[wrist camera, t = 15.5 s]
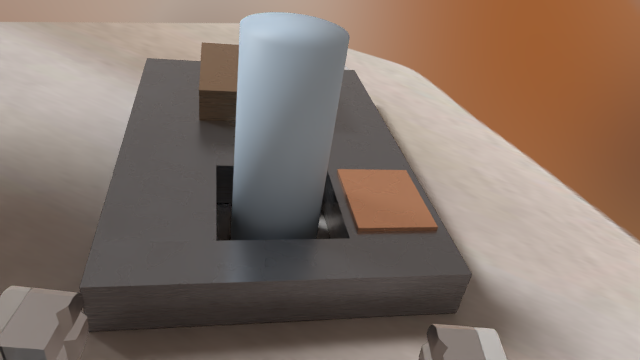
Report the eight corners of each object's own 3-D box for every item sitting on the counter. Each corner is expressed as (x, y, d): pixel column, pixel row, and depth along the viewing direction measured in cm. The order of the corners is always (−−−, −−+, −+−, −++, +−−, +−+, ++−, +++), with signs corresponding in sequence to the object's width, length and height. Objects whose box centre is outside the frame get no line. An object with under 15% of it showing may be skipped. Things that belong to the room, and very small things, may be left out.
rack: (88, 331, 20) (71, 247, 17) (149, 89, 39) (145, 31, 36) (456, 312, 23) (486, 239, 21) (349, 98, 42) (358, 46, 39)
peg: (232, 268, 24) (242, 44, 18) (229, 211, 27) (237, 8, 21) (321, 266, 25) (360, 52, 19) (308, 211, 28) (337, 17, 22)
